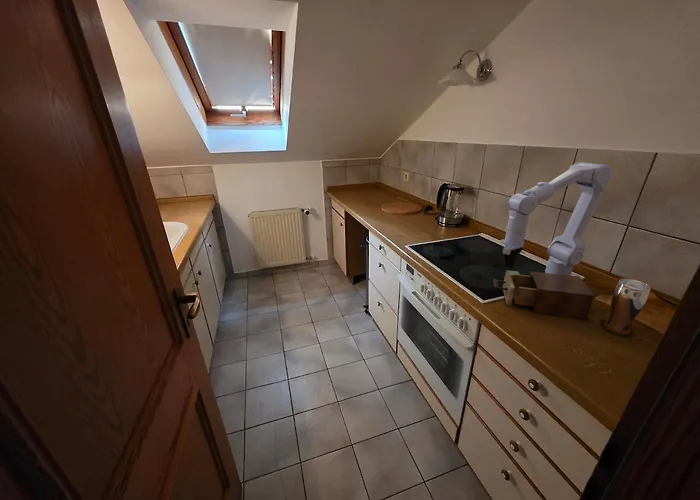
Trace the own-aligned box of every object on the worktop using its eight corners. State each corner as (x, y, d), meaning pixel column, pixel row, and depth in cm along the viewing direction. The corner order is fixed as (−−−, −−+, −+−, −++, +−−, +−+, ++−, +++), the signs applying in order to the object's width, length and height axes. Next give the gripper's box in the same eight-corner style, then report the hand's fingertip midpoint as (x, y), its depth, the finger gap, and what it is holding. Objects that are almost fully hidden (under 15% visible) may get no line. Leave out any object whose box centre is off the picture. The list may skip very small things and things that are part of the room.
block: (504, 279, 117) (506, 270, 115) (516, 280, 116) (518, 271, 114) (506, 284, 113) (508, 274, 112) (518, 285, 112) (520, 276, 111)
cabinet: (533, 311, 97) (539, 289, 93) (525, 292, 108) (530, 271, 104) (586, 319, 92) (594, 295, 89) (572, 298, 103) (579, 276, 100)
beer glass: (618, 320, 91) (635, 277, 85) (639, 335, 85) (659, 290, 79) (596, 321, 91) (611, 278, 85) (615, 336, 85) (633, 291, 79)
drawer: (493, 303, 100) (496, 285, 98) (490, 286, 110) (492, 270, 108) (553, 311, 95) (558, 293, 92) (544, 293, 105) (549, 276, 102)
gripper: (510, 222, 107) (503, 256, 113) (496, 233, 98) (489, 270, 103) (532, 226, 103) (524, 262, 108) (519, 238, 93) (511, 276, 98)
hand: (508, 266), depth 105 cm, fingers closed
